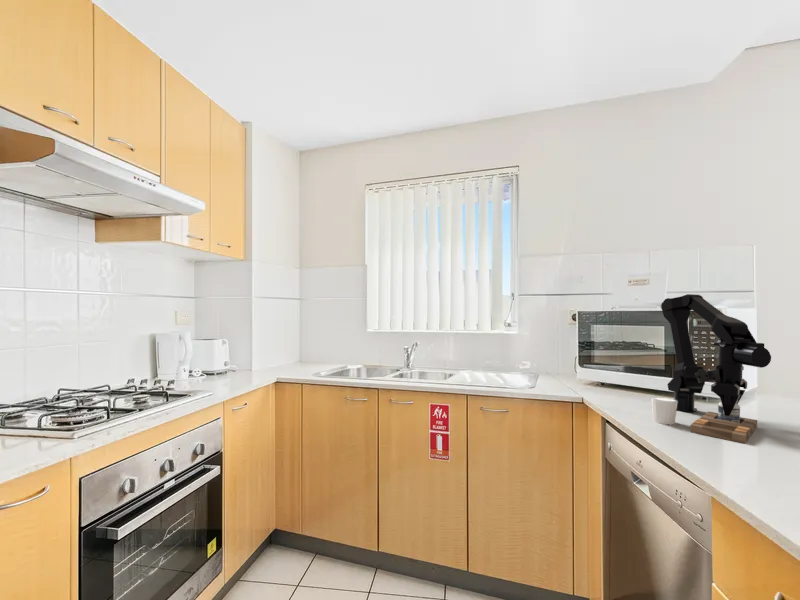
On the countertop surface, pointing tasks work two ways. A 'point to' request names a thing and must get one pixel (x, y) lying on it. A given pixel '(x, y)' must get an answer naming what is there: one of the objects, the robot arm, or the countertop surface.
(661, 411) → the white cylinder
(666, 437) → the countertop surface
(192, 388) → the countertop surface
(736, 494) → the countertop surface
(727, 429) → the rail
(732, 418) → the pill bottle
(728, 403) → the robot arm
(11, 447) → the countertop surface
